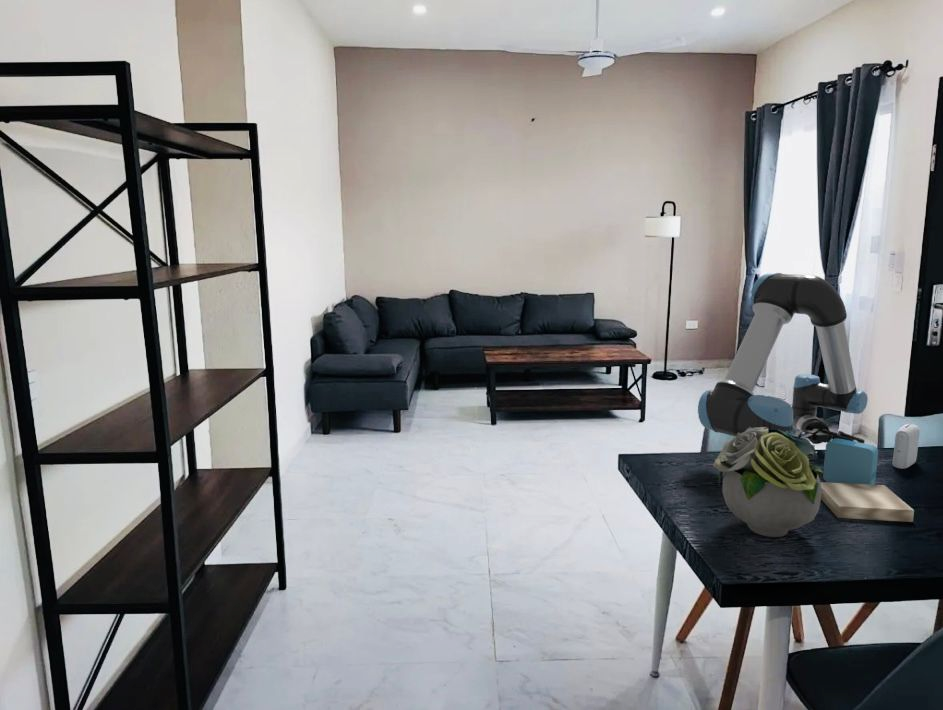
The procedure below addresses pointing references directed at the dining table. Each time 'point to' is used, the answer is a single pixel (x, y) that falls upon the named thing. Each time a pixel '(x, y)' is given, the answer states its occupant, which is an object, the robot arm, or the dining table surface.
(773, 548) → the dining table surface
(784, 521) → the flower arrangement
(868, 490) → the birch board
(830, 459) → the data package
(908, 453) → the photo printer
